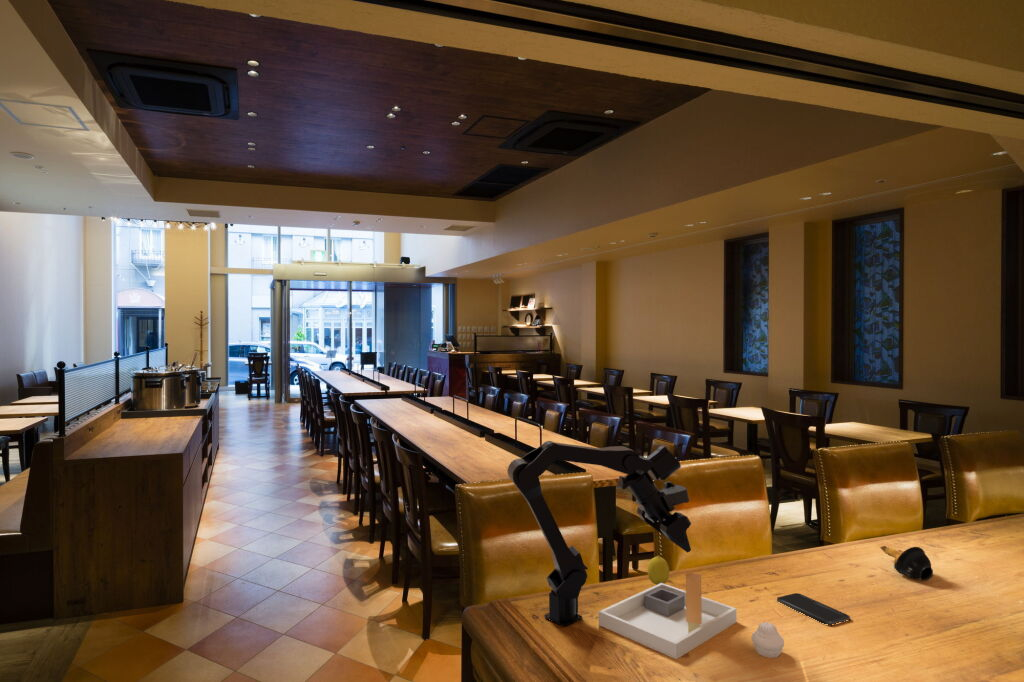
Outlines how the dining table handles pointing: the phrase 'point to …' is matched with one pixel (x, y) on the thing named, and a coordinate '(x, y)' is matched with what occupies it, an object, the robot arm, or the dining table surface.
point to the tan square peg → (693, 601)
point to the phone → (813, 609)
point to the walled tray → (665, 620)
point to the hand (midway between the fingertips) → (680, 545)
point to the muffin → (767, 640)
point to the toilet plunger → (911, 562)
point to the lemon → (658, 570)
